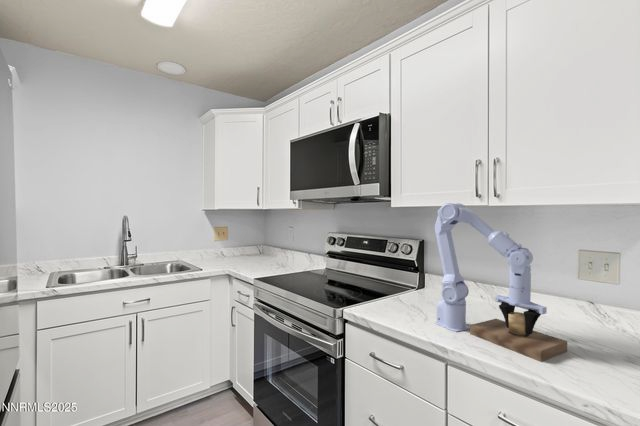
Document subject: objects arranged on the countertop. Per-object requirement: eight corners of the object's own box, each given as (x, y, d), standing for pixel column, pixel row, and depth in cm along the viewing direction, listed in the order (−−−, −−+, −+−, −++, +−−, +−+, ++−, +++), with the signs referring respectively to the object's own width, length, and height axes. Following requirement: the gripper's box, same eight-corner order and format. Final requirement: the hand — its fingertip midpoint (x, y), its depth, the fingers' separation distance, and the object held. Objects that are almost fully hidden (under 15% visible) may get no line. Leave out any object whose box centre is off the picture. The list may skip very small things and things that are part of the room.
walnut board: (470, 333, 107) (470, 324, 107) (496, 326, 114) (496, 318, 114) (540, 361, 88) (541, 350, 88) (567, 351, 95) (567, 341, 95)
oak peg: (505, 339, 101) (504, 314, 101) (515, 335, 104) (514, 310, 104) (523, 345, 96) (522, 319, 96) (533, 341, 99) (532, 315, 99)
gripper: (489, 283, 104) (489, 325, 105) (537, 294, 92) (536, 341, 92) (503, 281, 108) (502, 321, 108) (550, 291, 95) (549, 336, 95)
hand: (518, 330), depth 100 cm, fingers closed on oak peg, 5 cm apart
